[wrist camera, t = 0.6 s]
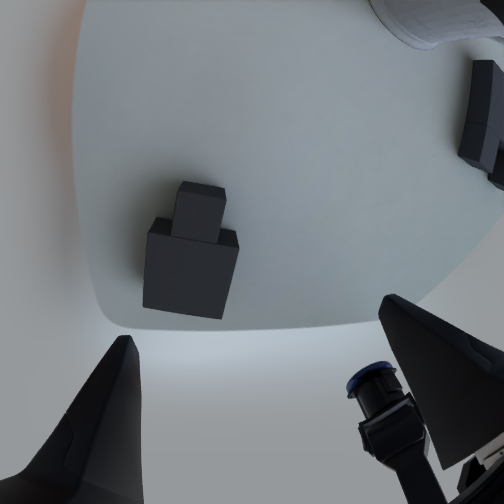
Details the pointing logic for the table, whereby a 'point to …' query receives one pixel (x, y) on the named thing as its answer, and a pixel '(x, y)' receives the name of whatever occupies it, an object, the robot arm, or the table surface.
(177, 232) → the black tabbed block
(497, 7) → the glass holder
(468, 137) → the dark grey block
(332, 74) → the table surface
